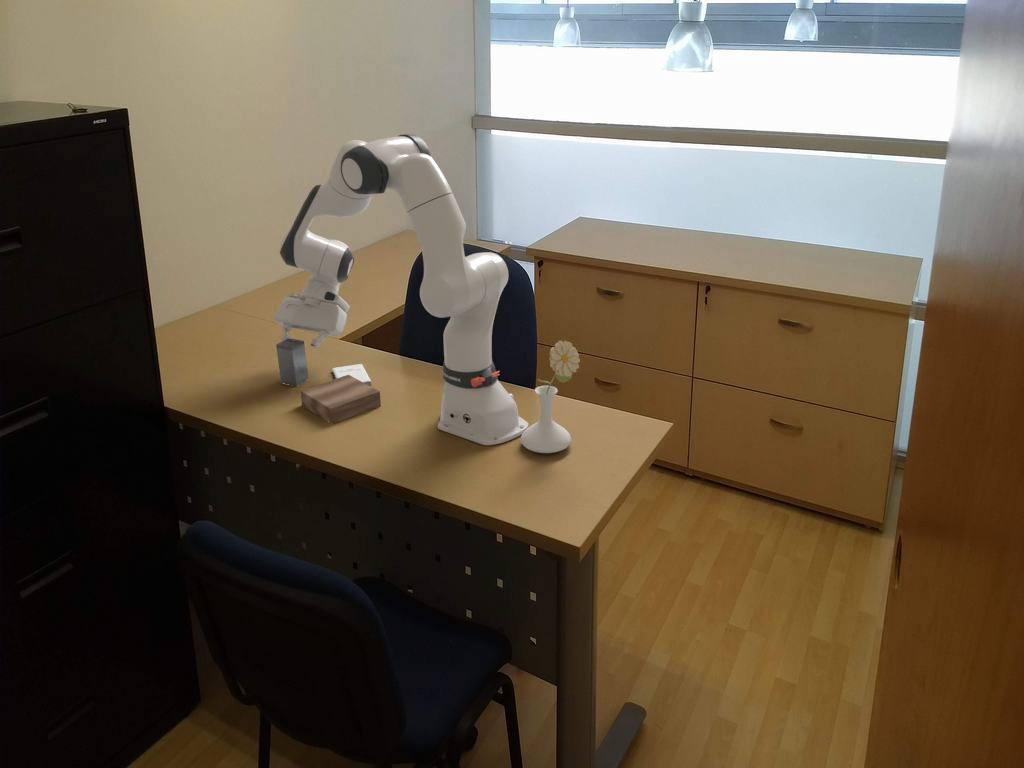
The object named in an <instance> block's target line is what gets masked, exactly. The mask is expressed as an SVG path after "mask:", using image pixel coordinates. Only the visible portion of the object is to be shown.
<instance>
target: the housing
mask: <svg viewBox="0 0 1024 768" xmlns="http://www.w3.org/2000/svg"><path fill="white" fill-rule="evenodd" d="M275 348H276V355H277V362H278V369H279V376H280V384H281V383H285V384H289V385H288V386H290V385H293V386H292V387H295V386H297V387H299V386H300V385H302V384H303V382H304V381H305V382H307V381H308V380H309V372H308V364H307V357H306V356H307V354H306V349H305V341H304V340H302V339H301V340H300V339H295V338H291V339H290V338H288V339H286V340H284V341H282V340H281V342H278V343H276V345H275ZM307 379H308V380H307ZM306 380H307V381H306ZM305 382H304V383H305ZM301 383H302V384H301ZM285 384H284V385H285ZM298 385H299V386H298Z"/></svg>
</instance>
